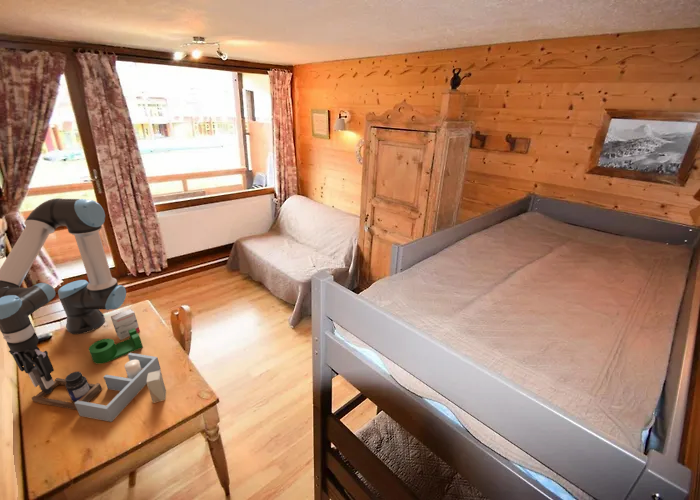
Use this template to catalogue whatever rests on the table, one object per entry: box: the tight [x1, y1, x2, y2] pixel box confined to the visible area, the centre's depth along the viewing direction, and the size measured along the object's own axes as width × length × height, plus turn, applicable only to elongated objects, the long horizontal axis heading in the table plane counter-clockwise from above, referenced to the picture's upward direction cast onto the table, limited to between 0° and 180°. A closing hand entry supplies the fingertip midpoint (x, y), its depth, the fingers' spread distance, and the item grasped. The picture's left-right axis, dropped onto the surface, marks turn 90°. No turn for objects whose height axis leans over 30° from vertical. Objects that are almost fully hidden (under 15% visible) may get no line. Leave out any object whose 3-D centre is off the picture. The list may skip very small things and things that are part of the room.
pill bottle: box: [64, 371, 90, 403], centre depth 121 cm, size 6×6×11 cm
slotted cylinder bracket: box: [88, 328, 144, 365], centre depth 145 cm, size 18×9×6 cm, turn 135°
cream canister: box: [124, 360, 143, 379], centre depth 131 cm, size 5×5×8 cm
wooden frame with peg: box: [31, 367, 103, 411], centre depth 122 cm, size 10×20×12 cm, turn 81°
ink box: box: [110, 308, 141, 341], centre depth 155 cm, size 9×5×12 cm, turn 141°
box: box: [146, 369, 167, 404], centre depth 123 cm, size 5×4×11 cm
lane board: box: [74, 352, 161, 423], centre depth 126 cm, size 26×13×6 cm, turn 171°
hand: (44, 384), depth 124 cm, fingers open, 4 cm apart
